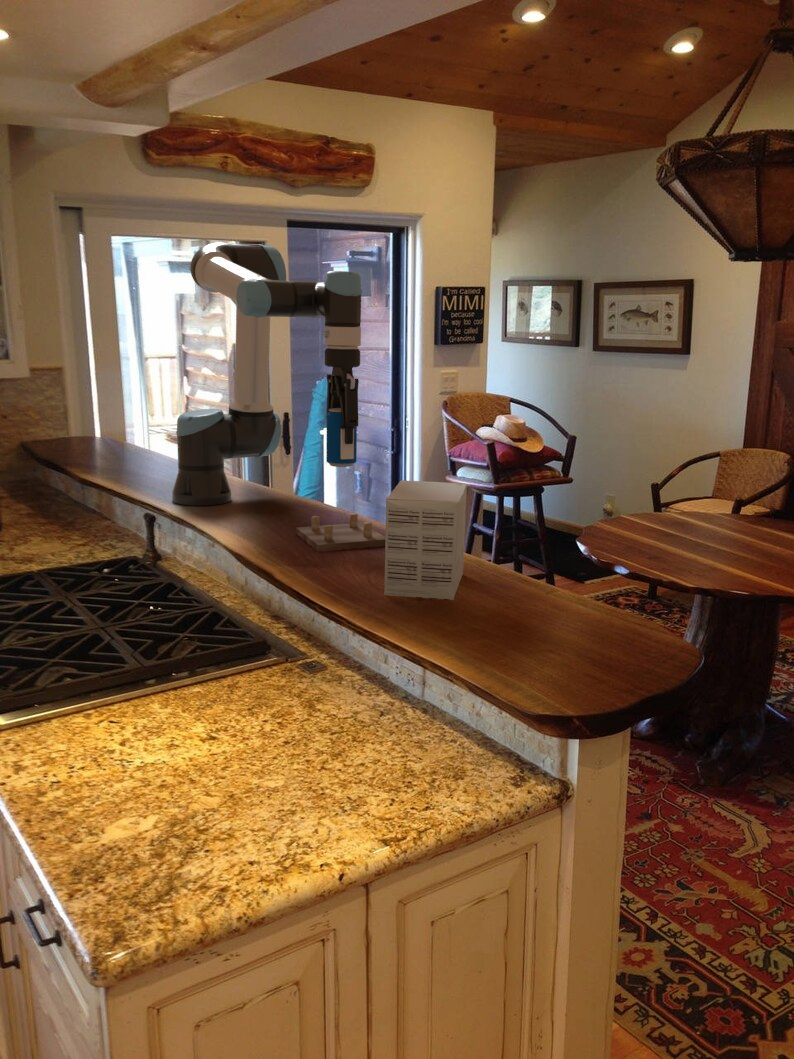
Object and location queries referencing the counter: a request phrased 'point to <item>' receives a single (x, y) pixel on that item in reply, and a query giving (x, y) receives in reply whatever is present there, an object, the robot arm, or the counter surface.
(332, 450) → the beverage can
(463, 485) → the supplement box
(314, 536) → the peg stand
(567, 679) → the counter surface
